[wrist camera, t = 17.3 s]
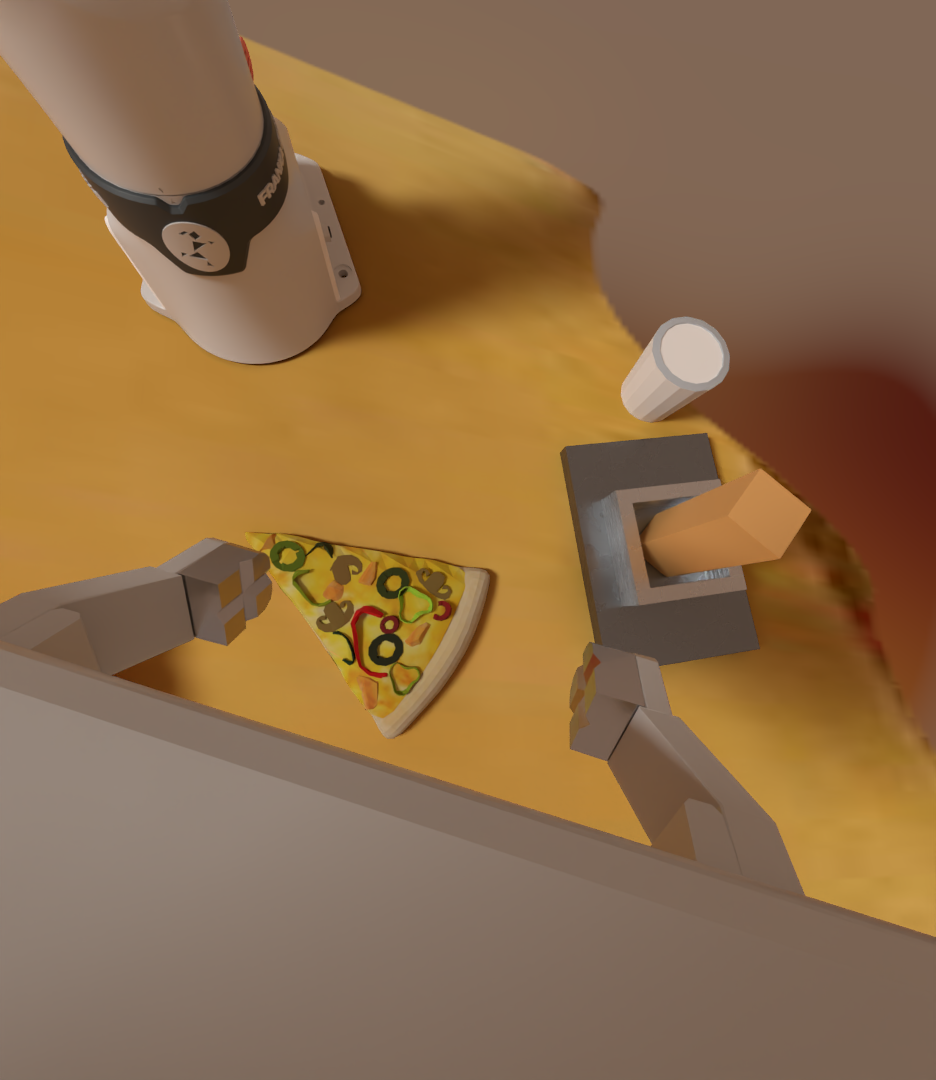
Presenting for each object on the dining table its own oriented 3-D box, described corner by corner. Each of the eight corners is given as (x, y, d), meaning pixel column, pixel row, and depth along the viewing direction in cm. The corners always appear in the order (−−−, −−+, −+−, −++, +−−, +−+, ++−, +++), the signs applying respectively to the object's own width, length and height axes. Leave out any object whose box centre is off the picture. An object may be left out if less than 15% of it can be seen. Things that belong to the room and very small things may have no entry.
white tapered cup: (617, 427, 41) (656, 389, 34) (612, 362, 42) (649, 312, 35) (684, 429, 42) (736, 392, 35) (677, 365, 43) (726, 317, 36)
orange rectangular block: (630, 547, 37) (727, 515, 25) (655, 514, 38) (760, 468, 26) (666, 577, 37) (779, 558, 25) (690, 543, 38) (811, 509, 26)
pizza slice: (408, 746, 34) (407, 758, 31) (192, 612, 34) (171, 612, 32) (503, 583, 38) (510, 580, 35) (305, 461, 38) (295, 448, 35)
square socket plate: (560, 452, 40) (577, 432, 35) (696, 439, 41) (729, 418, 37) (600, 672, 36) (625, 679, 32) (747, 647, 38) (789, 651, 34)
